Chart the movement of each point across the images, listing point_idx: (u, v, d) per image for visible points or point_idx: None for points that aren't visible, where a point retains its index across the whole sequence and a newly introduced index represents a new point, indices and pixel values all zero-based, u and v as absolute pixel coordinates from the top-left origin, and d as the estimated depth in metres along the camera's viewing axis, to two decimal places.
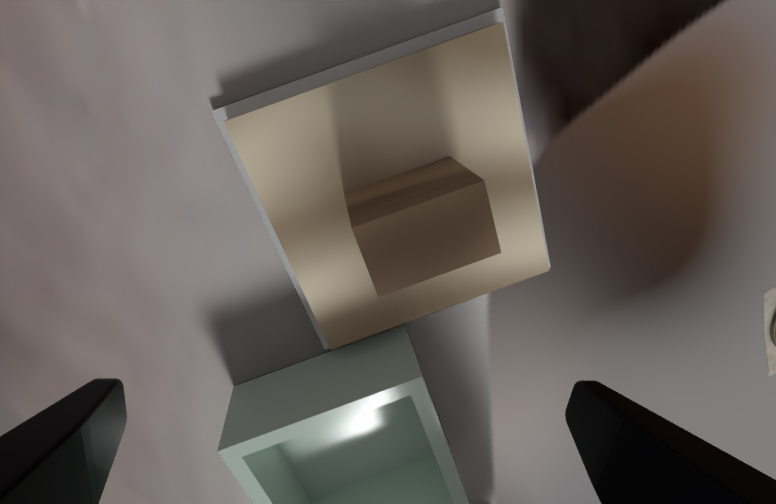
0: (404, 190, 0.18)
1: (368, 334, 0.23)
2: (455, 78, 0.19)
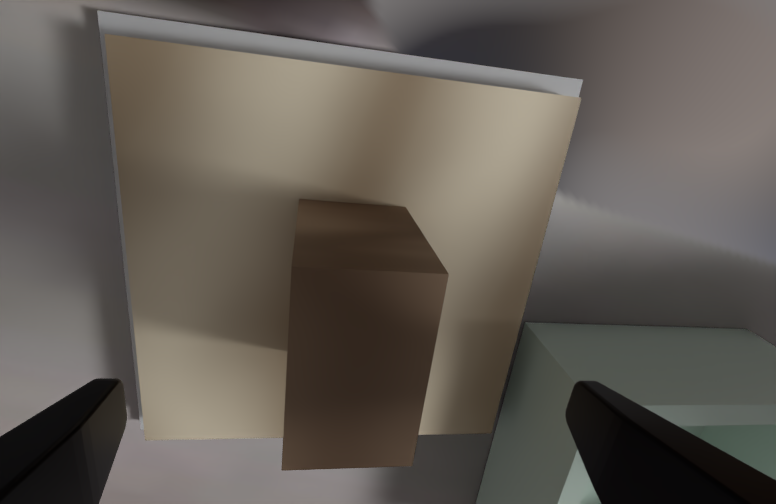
0: None
1: (500, 387, 0.16)
2: (178, 148, 0.11)
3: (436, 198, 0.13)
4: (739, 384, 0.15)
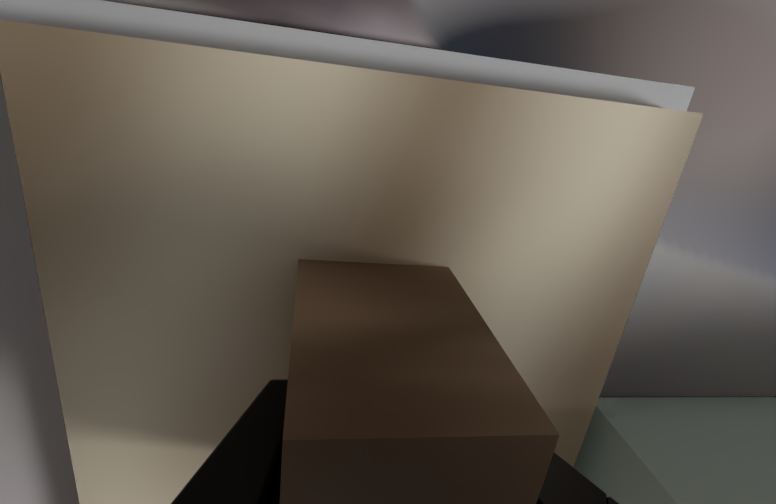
0: None
1: None
2: (118, 191, 0.08)
3: (492, 254, 0.09)
4: None
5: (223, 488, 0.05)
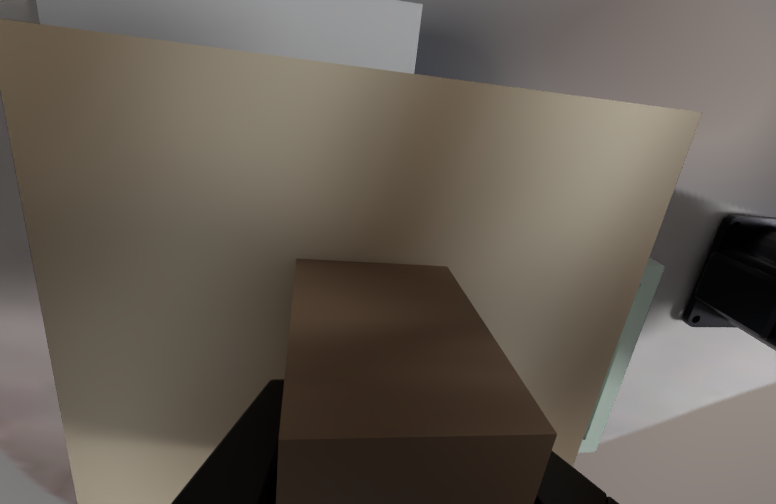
0: None
1: None
2: (115, 190, 0.08)
3: (491, 254, 0.09)
4: None
5: (223, 488, 0.05)
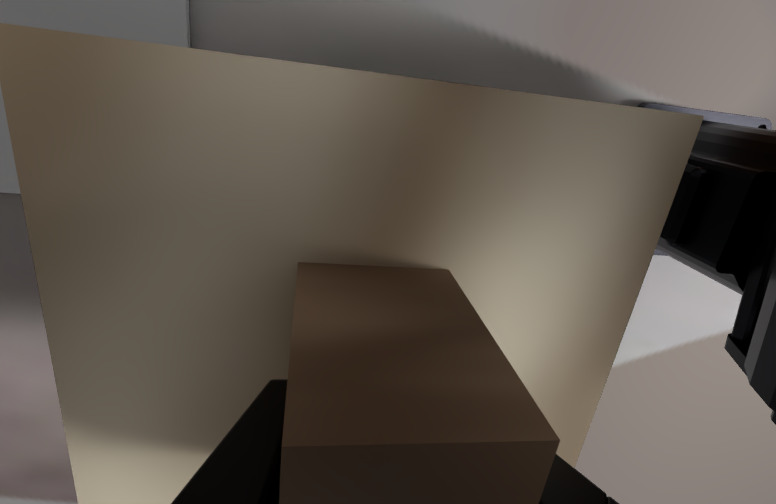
0: None
1: None
2: (117, 194, 0.08)
3: (492, 257, 0.09)
4: None
5: (223, 488, 0.05)
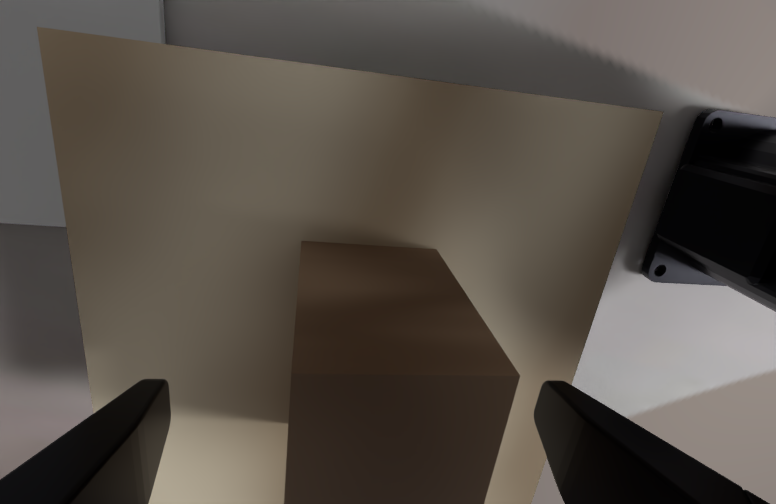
0: None
1: (543, 457, 0.13)
2: (143, 178, 0.09)
3: (475, 238, 0.10)
4: None
5: (21, 496, 0.05)
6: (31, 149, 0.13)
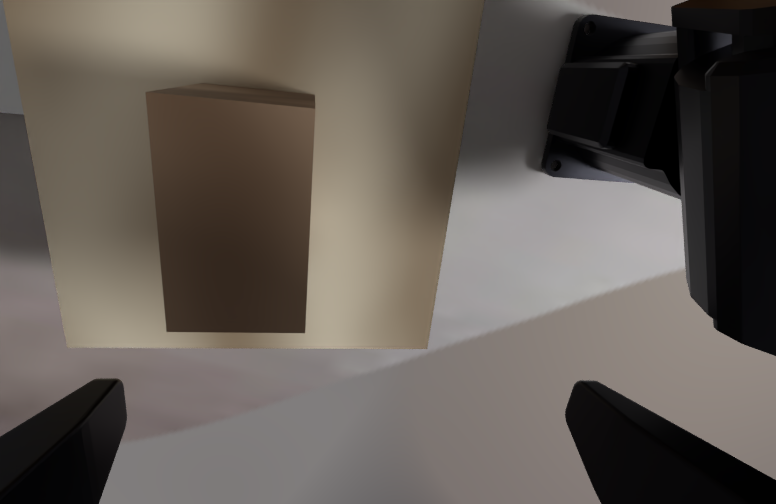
0: None
1: (432, 298, 0.16)
2: (72, 23, 0.11)
3: (346, 86, 0.13)
4: None
5: None
6: None
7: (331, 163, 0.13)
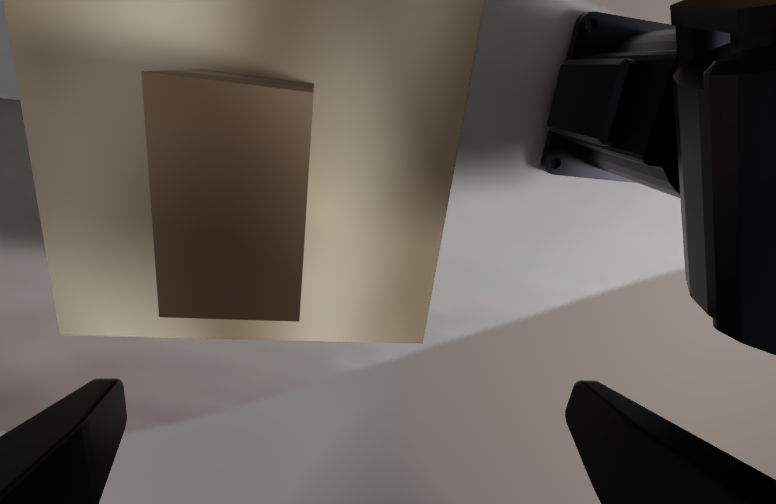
0: None
1: (429, 292, 0.16)
2: (70, 6, 0.11)
3: (346, 75, 0.13)
4: None
5: None
6: None
7: (329, 153, 0.13)
